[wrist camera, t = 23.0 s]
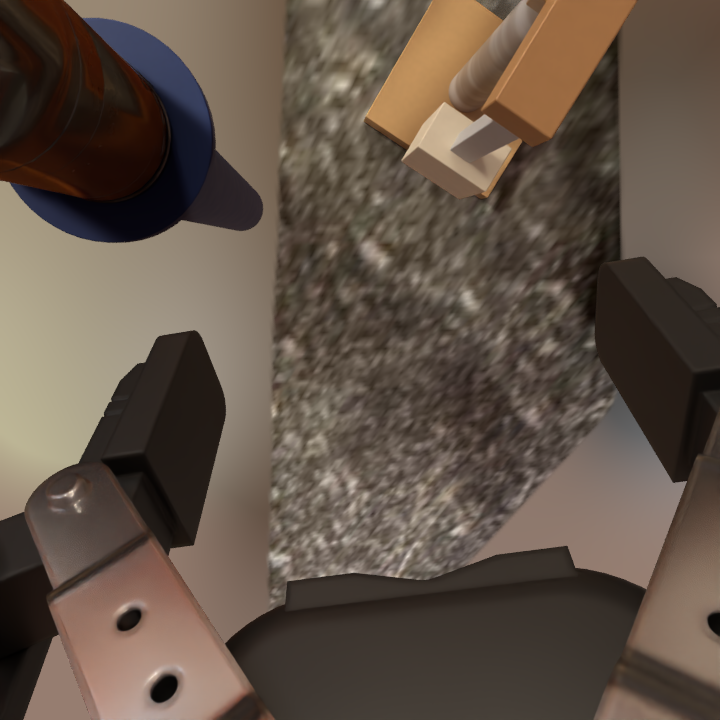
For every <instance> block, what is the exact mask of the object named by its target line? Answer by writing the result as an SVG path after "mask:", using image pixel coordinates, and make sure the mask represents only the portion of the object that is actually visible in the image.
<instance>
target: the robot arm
mask: <svg viewBox="0 0 720 720" xmlns="http://www.w3.org/2000/svg"><path fill="white" fill-rule="evenodd" d="M128 64H129V63H128ZM128 64H127V62H126V61H125V60H124V59H123V58H122V57H121V56H120V55H119V54H117V53H116V52H115V51H114V50H113V49H112V48H111V47H110V46H109V45H108V44H107V43H106V42H105V41H104V40H103V39H102V38H101V37H100V36H99V35H98V34H97V33H96V32H95V31H94V30H93V29H92V28H91V27H90V26H89V25H88V24H87V23H86V22H85V21H84V20H83V19H82V18H81V17H80V16H79V15H78V14H77V13H76V12H75V11H74V10H73V9H72V8H71V7H70V6H69V5H68V4H67V3H66V2H65V1H64V0H0V181H6V182H11V183H15V184H20V185H25V186H30V187H34V188H39V189H44V190H48V191H53V192H58V193H63V194H67V195H71V196H76V197H79V198H82V199H85V200H88V201H93V202H98V203H120V202H125V201H128V200H131V199H134V198H136V197H138V196H140V195H142V194H143V193H145V192H146V191H148V190H149V189H150V188H151V187H152V186H153V185H155V184H156V182H157V181H158V180H159V179H160V177H161V176H162V174H163V173H164V171H165V169H166V167H167V164H168V162H169V159H170V155H171V150H172V127H171V122H170V118H169V115H168V112H167V110H166V107H165V105H164V103H163V101H162V100H161V98H160V96H159V95H158V94H157V92H156V91H155V90H154V88H153V87H152V86H151V85H150V84H149V82H148V81H147V80H146V79H145V78H144V77H143V76H142V75H141V74H140V73H139V74H140V75H141V76H140V75H139V74H138V72H137V71H136V70H135V69H134V68H133V67H132V66H131V65H130V64H129V65H130V66H131V67H132V68H133V69H134V70H135V71H136V72H135V71H134V70H133V69H132V68H131V67H130V66H129V65H128ZM716 305H717V304H716V303H715V302H714V301H713V300H712V299H711V298H710V297H709V296H708V295H707V294H706V293H705V292H704V291H703V290H702V289H701V288H698V287H696V286H694V285H692V284H690V283H688V282H685V281H683V280H681V279H679V278H677V277H675V278H668V279H665V278H664V277H663V276H662V275H661V273H660V272H659V271H658V270H657V269H656V268H655V267H654V266H653V265H652V264H651V263H650V262H649V260H647V259H646V258H645V257H638V258H632V259H626V260H620V261H614V262H608V263H603V264H602V265H601V266H600V268H599V272H598V283H597V301H596V318H595V342H596V348H597V352H598V355H599V358H600V361H601V363H602V364H603V366H604V368H605V369H606V371H607V373H608V374H609V376H610V378H611V379H612V381H613V383H614V384H615V386H616V388H617V389H618V391H619V393H620V394H621V396H622V398H623V399H624V401H625V403H626V404H627V406H628V408H629V409H630V411H631V413H632V414H633V416H634V418H635V419H636V421H637V423H638V424H639V426H640V428H641V429H642V431H643V433H644V435H645V436H646V438H647V439H648V441H649V443H650V445H651V446H652V448H653V450H654V451H655V453H656V455H657V456H658V458H659V460H660V461H661V463H662V465H663V466H664V468H665V470H666V471H667V473H668V475H669V476H670V478H671V480H672V481H673V483H675V482H683V481H687V483H686V486H685V488H684V491H683V494H682V497H681V499H680V502H679V505H678V507H677V510H676V512H675V515H674V518H673V520H672V523H671V526H670V528H669V531H668V534H667V537H666V539H665V542H664V544H663V547H662V550H661V552H660V555H659V558H658V560H657V563H656V566H655V568H654V571H653V574H652V576H651V579H650V582H649V585H648V587H647V590H646V589H644V588H642V587H640V586H638V585H636V584H633V583H631V582H629V581H627V580H624V579H621V578H618V577H615V576H612V575H609V574H606V573H602V572H597V571H592V570H588V569H580V568H575V566H574V563H573V560H572V558H571V555H570V552H569V549H568V546H563V547H555V548H547V549H539V550H531V551H523V552H516V553H507V554H500V555H495V556H492V557H489V558H487V559H484V560H482V561H479V562H476V563H474V564H471V565H468V566H465V567H463V568H460V569H457V570H455V571H452V572H449V573H446V574H444V575H441V576H438V577H436V578H433V579H429V580H414V579H405V578H396V577H386V576H377V575H368V574H359V573H350V574H342V575H334V576H326V577H318V578H310V579H302V580H295V581H287V591H286V602H285V604H284V605H282V606H279V607H277V608H275V609H273V610H271V611H269V612H267V613H265V614H263V615H261V616H260V617H258V618H256V619H255V620H254V621H252V622H250V623H249V624H247V625H246V626H245V627H243V628H242V629H241V630H240V631H238V632H237V633H236V634H235V635H233V636H232V637H231V638H230V639H229V640H228V641H227V642H226V643H224V642H223V640H222V639H221V637H220V636H219V634H218V633H217V631H216V630H215V628H214V626H213V625H212V623H211V622H210V620H209V619H208V617H207V616H206V614H205V613H204V611H203V609H202V608H201V606H200V605H199V604H198V602H197V600H196V599H195V598H194V596H193V594H192V593H191V591H190V589H189V588H188V586H187V585H186V584H185V582H184V580H183V579H182V577H181V576H180V574H179V572H178V571H177V569H176V568H175V566H174V565H173V563H172V562H171V560H170V559H169V557H168V555H169V551H170V548H176V547H184V546H191V545H194V542H195V538H196V534H197V530H198V526H199V522H200V518H201V514H202V510H203V506H204V502H205V498H206V494H207V490H208V486H209V482H210V478H211V474H212V470H213V466H214V461H215V457H216V454H217V449H218V446H219V442H220V438H221V433H222V429H223V425H224V421H225V416H226V405H225V398H224V394H223V390H222V387H221V385H220V382H219V380H218V377H217V375H216V372H215V370H214V367H213V365H212V362H211V360H210V357H209V355H208V352H207V350H206V347H205V345H204V342H203V340H202V338H201V336H200V334H199V333H198V332H197V331H195V330H193V331H187V332H181V333H175V334H169V335H163V336H159V337H158V338H157V339H156V341H155V343H154V345H153V347H152V349H151V351H150V354H149V356H148V358H147V360H146V362H145V363H139V364H137V365H136V366H135V367H134V368H133V369H132V370H131V371H130V372H129V373H128V374H127V375H126V376H125V377H124V378H123V379H121V381H120V382H119V384H118V386H117V388H116V390H115V392H114V394H113V396H112V398H111V400H112V402H109V404H108V406H107V408H106V410H105V412H104V417H102V418H101V420H100V422H99V424H98V426H97V428H96V430H95V432H94V434H93V435H92V437H91V439H90V442H89V443H88V445H87V447H86V449H85V452H84V453H83V455H82V457H81V459H80V461H79V463H78V464H75V465H72V466H69V467H67V468H64V469H63V470H60V471H59V472H57V473H55V474H54V475H52V476H50V477H49V478H48V479H46V480H45V481H44V482H43V483H42V484H41V485H39V486H38V488H37V489H36V490H35V491H34V492H33V493H32V495H31V496H30V498H29V499H28V502H27V503H26V507H25V512H22V513H20V514H17V515H15V516H12V517H9V518H7V519H4V520H2V521H0V720H23V719H24V716H25V713H26V710H27V708H28V705H29V702H30V699H31V697H32V694H33V691H34V688H35V685H36V683H37V680H38V677H39V674H40V672H41V669H42V666H43V663H44V660H45V657H46V655H47V652H48V649H49V647H50V644H51V641H52V638H53V637H54V636H57V635H59V636H60V638H61V641H62V644H63V646H64V649H65V652H66V654H67V657H68V659H69V662H70V665H71V667H72V670H73V673H74V675H75V678H76V681H77V683H78V686H79V689H80V691H81V694H82V697H83V699H84V702H85V704H86V707H87V710H88V712H89V715H90V718H91V720H720V307H718V308H717V306H716Z"/></svg>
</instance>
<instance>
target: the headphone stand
mask: <svg viewBox="0 0 720 720" xmlns="http://www.w3.org/2000/svg"><path fill="white" fill-rule="evenodd" d="M546 1H547V0H521V1H520V3H519V4H518V5H517V6H516V7H515V8H514V9H513V11H512V12H511V13H510V14H509V15H508V16H507V17H506V19H505V20H504V21H503V20H501V19H500V18H499V17H497V16H496V15H495V14H493V13H492V12H490V11H489V10H488V9H486V8H485V7H484V6H482V5H481V4H480V3H478V2H477V1H475V0H433V1H432V3H431V4H430V6H429V8H428V9H427V11H426V13H425V15H424V16H423V18H422V20H421V22H420V23H419V25H418V27H417V28H416V30H415V32H414V34H413V35H412V37H411V39H410V40H409V42H408V44H407V46H406V47H405V49H404V51H403V53H402V54H401V56H400V58H399V59H398V61H397V63H396V65H395V66H394V68H393V70H392V72H391V73H390V75H389V77H388V78H387V80H386V82H385V84H384V85H383V87H382V89H381V91H380V92H379V94H378V96H377V97H376V99H375V101H374V103H373V104H372V106H371V108H370V110H369V111H368V113H367V115H366V117H365V119H364V122H365V123H367V124H368V125H370V126H371V127H373V128H374V129H376V130H377V131H379V132H380V133H382V134H383V135H385V136H386V137H388V138H389V139H391V140H392V141H394V142H395V143H397V144H398V145H400V146H402V147H403V148H405V149H406V150H408V149H409V147H410V145H411V143H412V142H413V140H414V138H415V137H416V135H417V133H418V132H419V130H420V128H421V127H422V125H423V123H424V122H425V121H426V120H427V119H428V118H429V117H430V116H431V115H432V114H433V113H434V112H435V111H436V110H437V109H438V108H439V107H440V106H441V105H442V104H443V103H444V102H445V103H447V104H448V105H450V106H451V107H452V108H454V109H455V110H457V111H458V112H460V113H461V114H463V115H464V116H466V117H467V118H468V119H470V120H471V121H473V122H475V121H476V120H478V119H479V118H480V117H482V116H483V115H484V113H482V112H481V109H482V107H483V106H484V104H485V102H486V101H487V99H488V97H489V96H490V94H491V92H492V91H493V89H494V87H495V86H496V84H497V82H498V81H499V79H500V78H501V76H502V74H503V73H504V71H505V69H506V68H507V66H508V64H509V63H510V61H511V59H512V58H513V56H514V54H515V53H516V51H517V49H518V48H519V46H520V44H521V43H522V41H523V39H524V38H525V36H526V34H527V33H528V31H529V29H530V28H531V26H532V24H533V23H534V21H535V19H536V18H537V16H538V14H539V13H540V11H541V10H542V8H543V6H544V5H545V3H546ZM522 141H523V140H521V139H520V138H519V139H517V140H515V141H513V142H511V143H509V144H507V145H508V146H509V147H511V148H512V150H511V152H510V153H509V155H508V157H507V158H506V160H505V161H504V163H503V165H502V166H501V168H500V170H499V171H498V173H497V174H496V176H495V178H494V179H493V181H492V183H491V184H490V186H489V187H488V189H487V191H486V192H483V193H480V194H476V195H475V196H477V197H478V198H480V199H484V198H487V197H488V196H489V195H490V193H491V191H492V190H493V188H494V186H495V185H496V183H497V182H498V180H499V178H500V177H501V175H502V174H503V172H504V170H505V169H506V167H507V165H508V164H509V162H510V161H511V159H512V157H513V156H514V154H515V152H516V151H517V149H518V148H519V146H520V144H521V143H522Z"/></svg>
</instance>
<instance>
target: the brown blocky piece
mask: <svg viewBox="0 0 720 720" xmlns="http://www.w3.org/2000/svg"><path fill="white" fill-rule="evenodd" d="M637 1H638V0H547V1H546V3H545V5H544V6H543V8H542V10H541V11H540V13H539V14H538V16H537V18H536V19H535V21H534V23H533V24H532V26H531V28H530V29H529V31H528V33H527V34H526V36H525V38H524V39H523V41H522V43H521V44H520V46H519V48H518V49H517V51H516V53H515V54H514V56H513V58H512V59H511V61H510V63H509V64H508V66H507V68H506V69H505V71H504V73H503V74H502V76H501V78H500V79H499V81H498V82H497V84H496V86H495V87H494V89H493V91H492V92H491V94H490V96H489V97H488V99H487V101H486V102H485V104H484V106H483V107H482V109H481V112H482V113H484V115H483V116H482V117H480V118H479V119H478V120H476V121H475V122H473V121H471V120H470V119H468V118H467V117H466V116H464V115H463V114H461V113H460V112H458V111H457V110H455V109H454V108H452V107H451V106H450V105H448V104H447V103H445V102H444V103H443V104H442V105H441V106H440V107H439V108H438V109H437V110H436V111H435V112H434V113H433V114H432V115H431V116H430V117H429V118H428V119H427V120H426V121H425V122H424V123H423V125H422V127H421V128H420V130H419V132H418V133H417V135H416V137H415V138H414V140H413V142H412V143H411V145H410V147H409V149H408V150H407V152H406V154H405V155H404V157H403V159H402V162H403V163H404V164H406V165H407V166H409V167H410V168H412V169H414V170H415V171H417V172H418V173H420V174H421V175H423V176H424V177H426V178H427V179H429V180H430V181H432V182H433V183H435V184H436V185H438V186H439V187H441V188H442V189H444V190H445V191H447V192H449V193H450V194H452V195H453V196H455V197H456V198H458V199H463V198H466V197H470V196H473V195H476V194H480V193H483V192H486V191H487V189H488V187H489V186H490V184H491V183H492V181H493V179H494V178H495V176H496V174H497V173H498V171H499V170H500V168H501V166H502V165H503V163H504V161H505V160H506V158H507V157H508V155H509V153H510V152H511V150H512V148H511V147H509V146H508V145H507V144H509V143H511V142H513V141H515V140H517V139H519V138H520V139H521V140H523V141H524V142H526V143H527V144H528V145H530V146H531V147H534V146H536V145H539V144H541V143H543V142H546V141H548V140H550V139H552V138H553V136H554V134H555V133H556V131H557V130H558V128H559V126H560V125H561V123H562V122H563V120H564V118H565V117H566V115H567V114H568V112H569V110H570V109H571V107H572V106H573V104H574V102H575V101H576V99H577V98H578V96H579V94H580V93H581V91H582V89H583V88H584V86H585V85H586V83H587V81H588V80H589V78H590V77H591V75H592V73H593V72H594V70H595V69H596V67H597V65H598V64H599V62H600V61H601V59H602V57H603V56H604V54H605V53H606V51H607V49H608V48H609V46H610V45H611V43H612V41H613V40H614V38H615V36H616V35H617V33H618V32H619V30H620V28H621V27H622V25H623V24H624V22H625V20H626V19H627V17H628V16H629V14H630V12H631V11H632V9H633V7H634V6H635V4H636V3H637Z"/></svg>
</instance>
